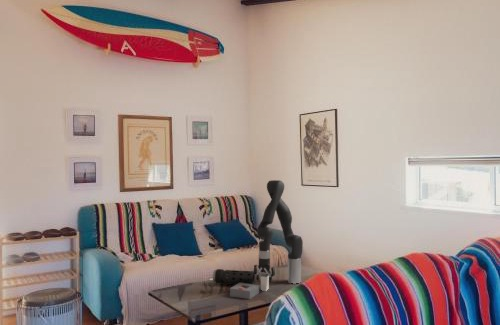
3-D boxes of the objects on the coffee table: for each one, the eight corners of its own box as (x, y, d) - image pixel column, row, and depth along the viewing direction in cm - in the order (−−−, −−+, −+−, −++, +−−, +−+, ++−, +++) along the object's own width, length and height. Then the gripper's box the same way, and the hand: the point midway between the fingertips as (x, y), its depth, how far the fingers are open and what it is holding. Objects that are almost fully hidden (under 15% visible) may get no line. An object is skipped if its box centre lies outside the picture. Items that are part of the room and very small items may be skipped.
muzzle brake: (252, 288, 292) (252, 272, 292) (212, 285, 298) (212, 270, 298) (255, 284, 301) (255, 269, 301) (216, 282, 307) (216, 267, 307)
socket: (239, 290, 288) (239, 281, 288) (259, 292, 282) (259, 283, 282) (229, 296, 275) (229, 287, 275) (249, 299, 269) (249, 289, 269)
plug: (263, 288, 290) (263, 272, 290) (268, 289, 289) (268, 273, 288) (260, 290, 287) (260, 273, 286) (266, 291, 285) (266, 274, 285)
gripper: (276, 257, 288) (276, 281, 288) (256, 254, 294) (256, 278, 294) (272, 259, 281) (271, 284, 281) (252, 257, 287) (251, 281, 287)
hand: (264, 281), depth 287 cm, fingers open, 8 cm apart
